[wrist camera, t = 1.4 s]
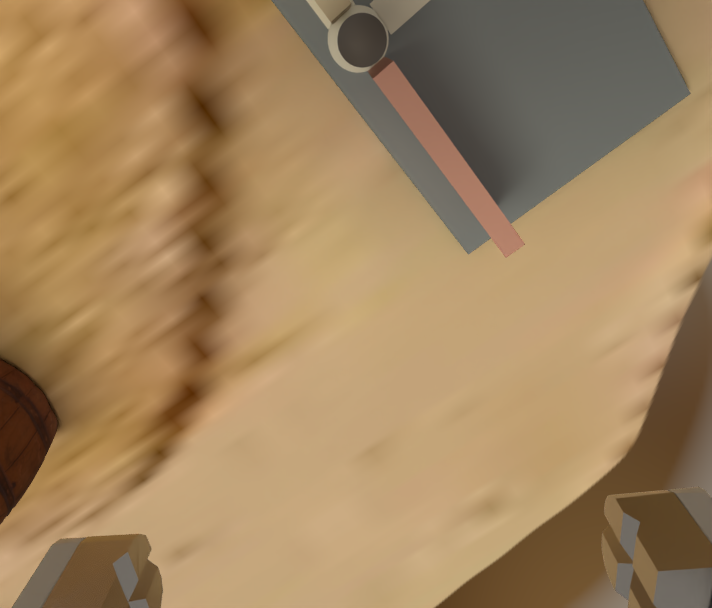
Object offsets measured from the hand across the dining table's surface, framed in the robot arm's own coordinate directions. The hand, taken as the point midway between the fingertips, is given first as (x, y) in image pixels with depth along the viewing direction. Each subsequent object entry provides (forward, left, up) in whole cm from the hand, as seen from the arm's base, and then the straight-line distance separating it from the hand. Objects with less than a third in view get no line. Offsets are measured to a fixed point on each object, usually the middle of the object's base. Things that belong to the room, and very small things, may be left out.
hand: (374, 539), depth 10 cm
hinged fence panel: (0, +5, -21) cm, 21 cm away
